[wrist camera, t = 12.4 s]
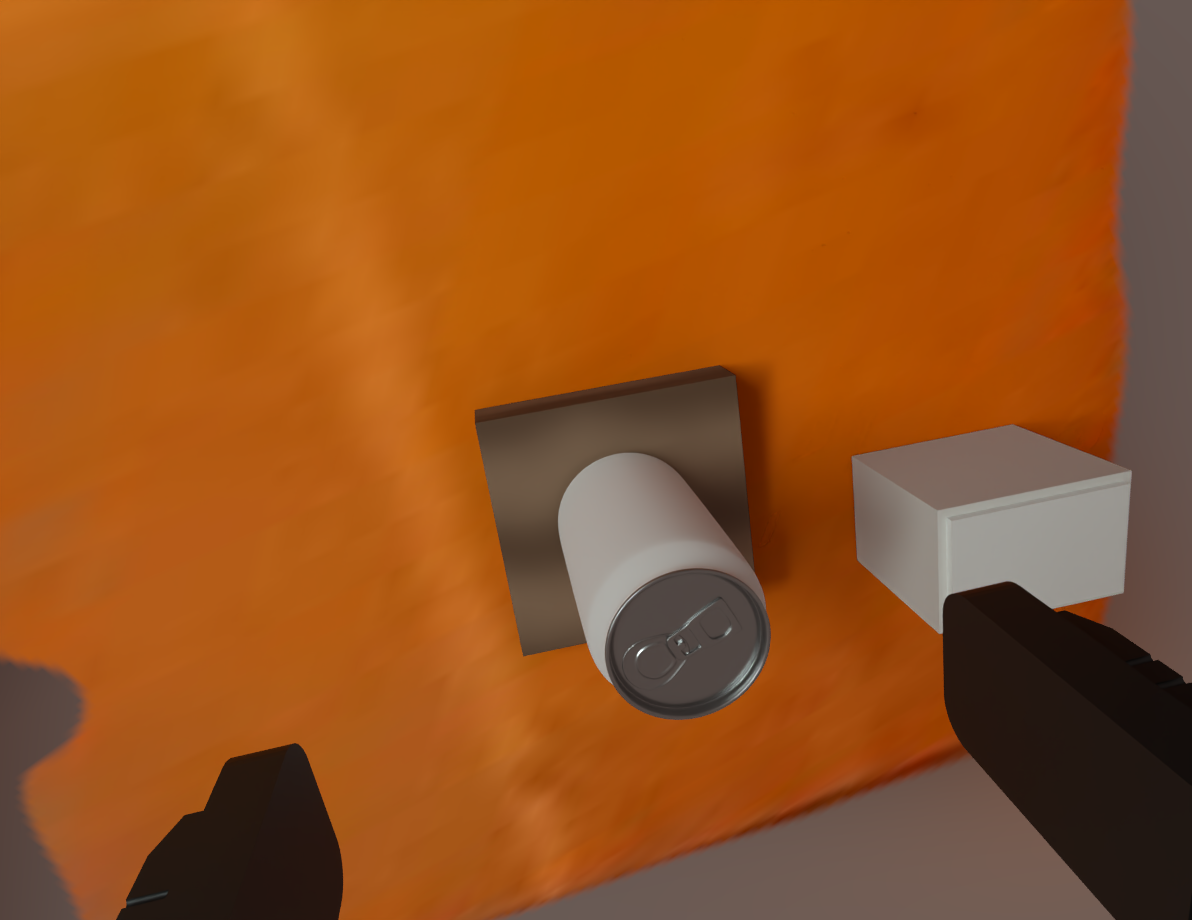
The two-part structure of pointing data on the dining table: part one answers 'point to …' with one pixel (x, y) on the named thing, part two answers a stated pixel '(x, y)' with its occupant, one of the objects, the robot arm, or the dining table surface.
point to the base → (582, 436)
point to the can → (661, 589)
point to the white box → (991, 519)
